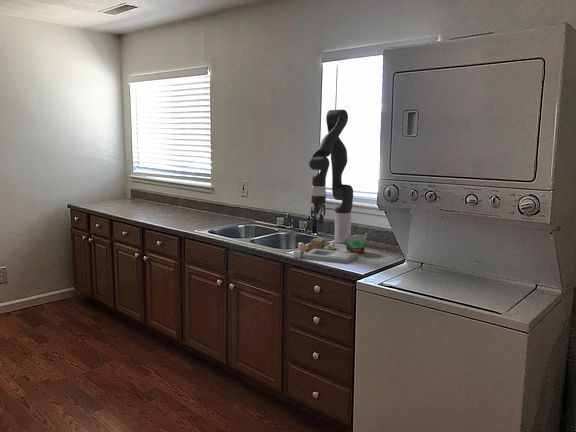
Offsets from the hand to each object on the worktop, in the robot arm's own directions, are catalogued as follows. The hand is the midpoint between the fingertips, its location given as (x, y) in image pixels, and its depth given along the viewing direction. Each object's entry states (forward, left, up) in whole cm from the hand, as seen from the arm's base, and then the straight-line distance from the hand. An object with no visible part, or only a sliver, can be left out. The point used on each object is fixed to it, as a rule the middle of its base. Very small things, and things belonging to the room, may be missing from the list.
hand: (318, 224), depth 273 cm
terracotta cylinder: (+13, -4, -14) cm, 19 cm away
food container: (-3, +21, -14) cm, 26 cm away
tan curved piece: (-2, 0, -14) cm, 14 cm away
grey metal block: (+18, -3, -14) cm, 23 cm away
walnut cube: (0, 0, -14) cm, 14 cm away
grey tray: (+12, +12, -14) cm, 22 cm away
